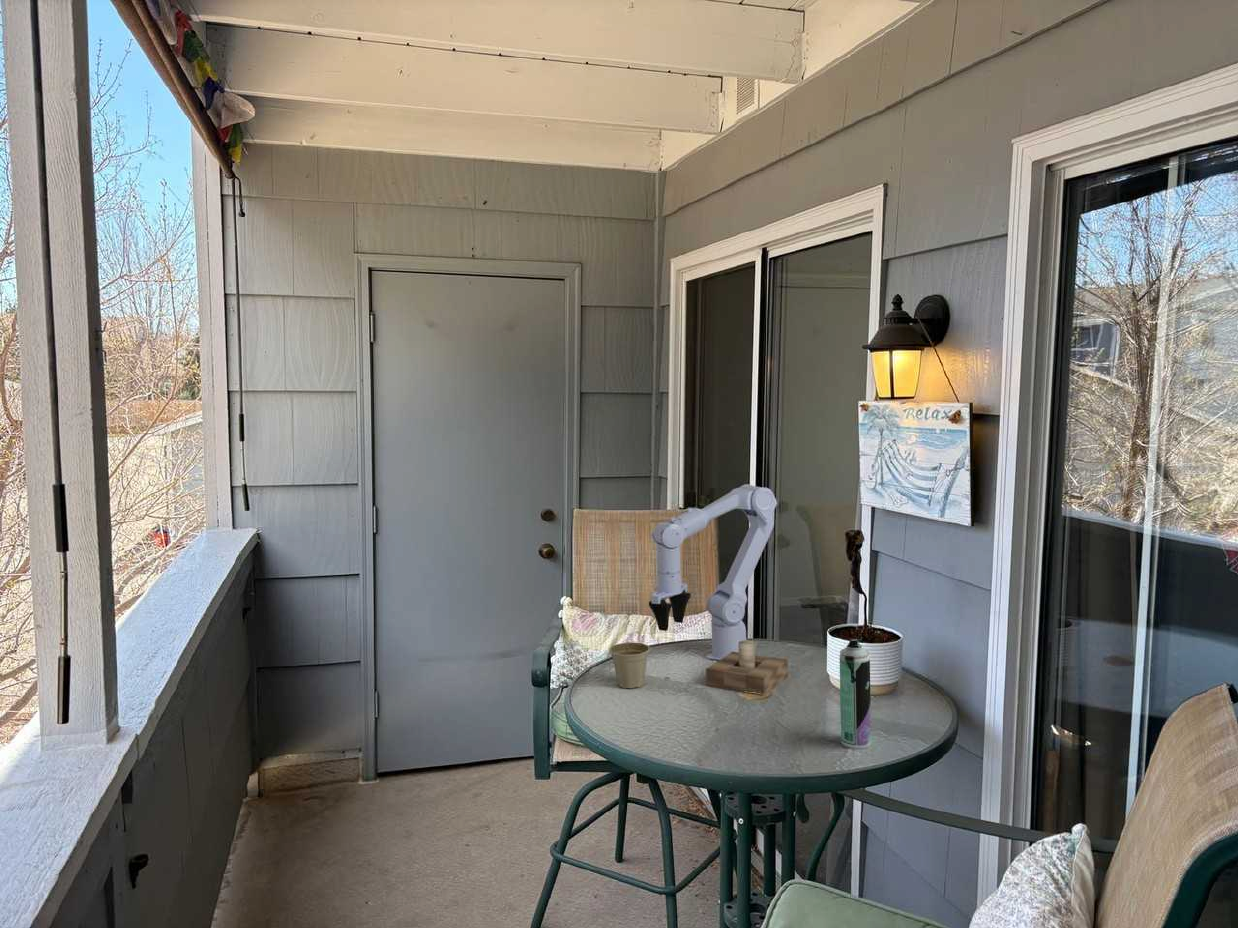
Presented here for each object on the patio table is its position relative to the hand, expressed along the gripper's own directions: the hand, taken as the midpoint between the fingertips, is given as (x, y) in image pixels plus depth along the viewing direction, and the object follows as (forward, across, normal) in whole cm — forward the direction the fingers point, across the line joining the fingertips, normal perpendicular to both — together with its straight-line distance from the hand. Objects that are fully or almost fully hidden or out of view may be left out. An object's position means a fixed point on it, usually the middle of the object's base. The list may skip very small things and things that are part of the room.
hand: (671, 626), depth 207 cm
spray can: (+10, +24, +53) cm, 59 cm away
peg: (+9, +2, +21) cm, 23 cm away
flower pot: (+10, +16, -2) cm, 19 cm away
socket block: (+10, +2, +21) cm, 23 cm away
